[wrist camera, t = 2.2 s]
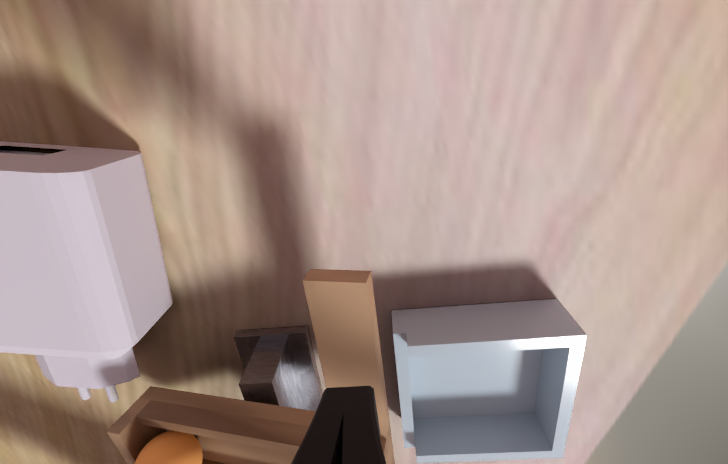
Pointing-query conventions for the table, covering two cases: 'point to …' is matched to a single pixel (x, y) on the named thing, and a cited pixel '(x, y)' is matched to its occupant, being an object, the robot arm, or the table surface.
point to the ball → (171, 449)
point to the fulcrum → (279, 367)
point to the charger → (78, 263)
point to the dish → (487, 379)
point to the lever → (265, 421)
